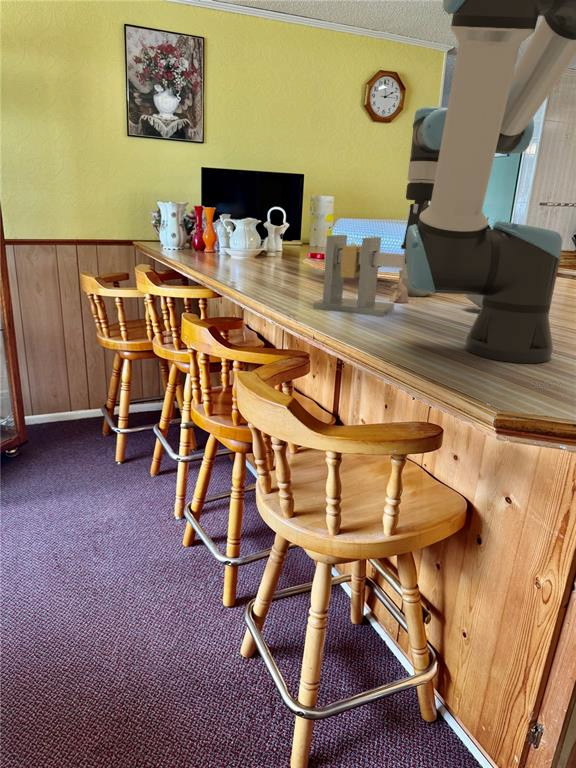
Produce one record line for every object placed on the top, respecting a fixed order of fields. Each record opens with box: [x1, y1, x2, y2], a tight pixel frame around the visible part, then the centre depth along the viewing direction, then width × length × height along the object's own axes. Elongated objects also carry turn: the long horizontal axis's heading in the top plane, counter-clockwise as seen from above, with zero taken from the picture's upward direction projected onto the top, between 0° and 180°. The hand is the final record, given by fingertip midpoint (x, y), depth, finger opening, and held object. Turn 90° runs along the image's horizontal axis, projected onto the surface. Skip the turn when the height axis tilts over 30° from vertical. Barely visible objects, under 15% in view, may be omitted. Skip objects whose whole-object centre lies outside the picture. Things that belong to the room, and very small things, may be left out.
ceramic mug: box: [464, 294, 483, 309], centre depth 143 cm, size 11×8×8 cm
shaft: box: [323, 248, 404, 269], centre depth 134 cm, size 4×24×4 cm, turn 67°
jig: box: [313, 234, 395, 318], centre depth 137 cm, size 12×18×18 cm, turn 67°
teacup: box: [398, 268, 431, 297], centre depth 167 cm, size 14×11×8 cm
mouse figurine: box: [389, 278, 418, 304], centre depth 152 cm, size 5×8×7 cm, turn 91°
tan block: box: [340, 244, 362, 279], centre depth 136 cm, size 7×4×7 cm, turn 157°
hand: (413, 275), depth 131 cm, fingers open, 13 cm apart
